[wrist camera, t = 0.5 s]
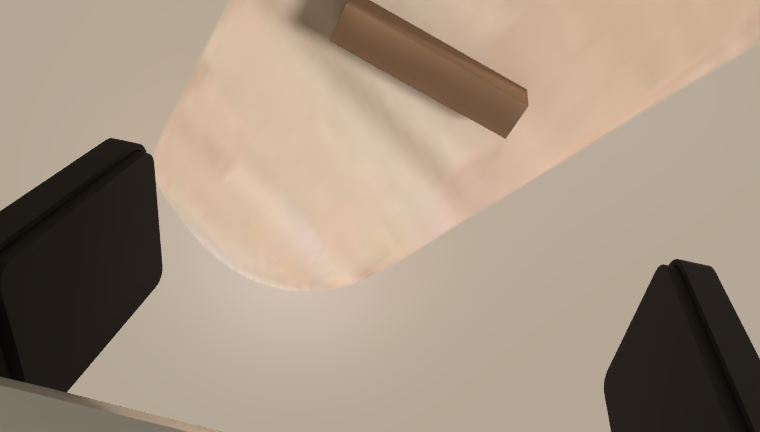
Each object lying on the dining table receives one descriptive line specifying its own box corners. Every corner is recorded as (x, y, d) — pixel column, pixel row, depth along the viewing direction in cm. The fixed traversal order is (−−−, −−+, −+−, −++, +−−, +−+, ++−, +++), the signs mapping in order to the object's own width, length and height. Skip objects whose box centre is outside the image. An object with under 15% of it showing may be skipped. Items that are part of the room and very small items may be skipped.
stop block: (358, -7, 36) (346, 2, 33) (526, 89, 37) (528, 105, 34) (342, 29, 37) (329, 40, 34) (505, 120, 38) (505, 138, 35)
